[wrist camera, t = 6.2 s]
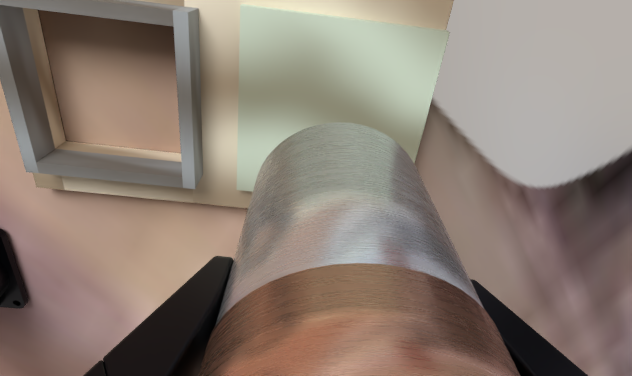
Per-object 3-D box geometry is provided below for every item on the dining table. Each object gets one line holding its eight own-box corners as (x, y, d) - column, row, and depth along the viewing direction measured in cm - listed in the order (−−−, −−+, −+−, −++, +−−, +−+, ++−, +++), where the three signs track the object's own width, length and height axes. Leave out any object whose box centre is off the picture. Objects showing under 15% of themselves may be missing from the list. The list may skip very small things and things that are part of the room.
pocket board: (391, 213, 24) (399, 240, 21) (47, 178, 22) (17, 202, 20) (449, -9, 18) (468, -5, 15) (-16, -72, 16) (-69, -77, 14)
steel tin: (401, 272, 14) (544, 800, 5) (249, 258, 13) (127, 793, 5) (442, 131, 11) (885, 723, 2) (255, 110, 11) (14, 697, 2)
